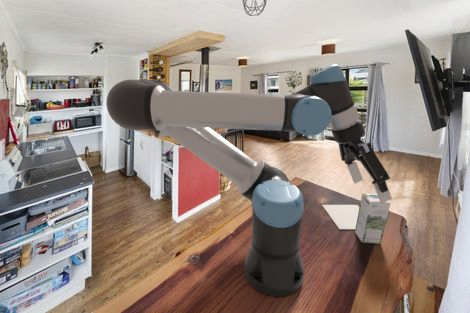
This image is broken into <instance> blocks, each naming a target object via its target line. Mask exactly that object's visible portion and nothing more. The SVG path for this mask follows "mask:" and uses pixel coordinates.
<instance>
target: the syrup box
mask: <svg viewBox="0 0 470 313" xmlns="http://www.w3.org/2000/svg"><path fill="white" fill-rule="evenodd" d="M360 196H361V198H360V202H359V213H358V218H357V224H356V229H355V230H354V233H355V234H356V236H357V237H358V239H359V240H360V242H361V243H362V244H375V245H376V244H377V245H381V244H382V242H383V236H384V232H385V228H386V224H387V219H388V215H389V211H390V207H391V203H390V200H388V201H386V202H384V203H381V202H380V200H379V197H378V195H377V193H361V195H360Z"/></svg>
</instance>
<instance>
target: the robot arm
mask: <svg viewBox="0 0 470 313" xmlns="http://www.w3.org/2000/svg"><path fill="white" fill-rule="evenodd" d="M309 80H310V82H309V83H310V84H309V85H307V86H306V87H303V88H302V89H300V90H298V91H296V92H294V93H291V94H289V95H288V94H287V95H285V94H269V93H267V94H264V93H239V92H238V93H237V92H213V91H212V92H211V91H210V92H209V91H190V90H189V91H186V90H185V91H183V90H173V89H172V88H171V87H170V86H169V85H168V84H166V83H164V82H161V81H159V80H155V79H146V80H145V79H144V80H143V79H142V80H141V79H125V80H122V81H120V82H117V83H116V84H115V85H113V86H112V87H111V88H110V90H109V91H108V94H107V96H106V102H105V104H106V110H107V112H108V115H109V116H110V118H111V119H112V120H113V122H114V123H115V124H117V125H118V126H119V127H122V128H123V129H126V130H129V131H151V132H153V133H155V134H156V135H157V136H158V137H160V138H162V137H170V138H171V139H172V140H174V142H176V143H177V144H180V145H181V146H182V147H184V148H185V149H186V150H188V151H190V152H191V153H192V154H193V155H195V156H196V157H198V158H199V159H200V160H202V161H203V162H205V163H206V164H207V165H209V166H210V167H212V168H213V169H214V170H216V171H217V172H218V173H220V174H221V175H223V176H224V177H226V178H227V179H228V180H229V181H231V182H233V184H235V185H237V188H238V193H239V194H240V195H242V196H244V198H246V199H248V201H250V202H251V210H252V211H251V215H252V217H251V219H252V220H251V222H252V223H251V245H250V247H249V250H248V252H247V255H246V257H245V260H244V276H245V279H246V281H247V282H248V284H249V285H250V286H251V287H252V288H253V289H254V290H256V291H258V292H260V293H261V294H264V295H267V296H270V297H286V296H290V295H292V294H294V293H296V292H298V291H299V289H300V288H301V287H302V285H303V283H304V279H305V278H304V277H305V266H304V263H303V259H302V256H301V252H300V242H301V235H302V234H301V232H302V223H303V214H304V211H305V207H304V206H305V205H304V196H303V194H302V191H301V190H300V189H299V188H298V187H297V186H296V185H294V184H292V183H291V182H290V179H289V177H288V176H287V175H286V173H285V172H283V171H282V169H279V168H278V167H276V166H271V165H270V164H268V163H266V162H265V161H263V160H257V161H256V160H254V159H253V158H251V157H250V156H248V155H247V154H246V153H244V151H242V150H240V149H239V148H238V147H236V146H235V145H234V144H232V143H231V142H229V141H228V140H227V139H225V138H224V137H223V136H222V135H220V134H219V133H217V132H216V131H215V130H213V129H225V130H226V129H229V130H230V129H231V130H253V131H274V132H275V131H279V132H293V133H294V132H296V133H299V134H300V135H303V136H307V137H308V136H309V137H313V136H314V137H315V136H317V135H320V134H321V133H324V132H325V131H326V130H327V128H328V127H329V129H331V134H332V136H333V138H334V141H335V142H336V143H338V148H339V154H340V158H341V161H342V162H344V164H346V167H347V169H348V172H349V175H350V176H351V179H352V182H353V183H354V184H358V183H360V182H362V181H364V179H363V176H362V173H361V171H360V169H359V165H358V163H357V161H358V162H360V164H361V165H362V166H363V167H364V169H365V170H366V171H367V174H368V175H369V176H370V177H371V178H372V181H371V184H372V185H373V186H374V189H375V192H376V194H377V195H378V197H379V200H380V202H381V203H384V202H386V201H390V200H392V199H393V198H392V195H391V192H390V190H389V187H388V183H387V181H389V180H391V176H390V175H389V174H388V172H387V170H386V169H385V168H384V165H383V164H382V163H381V161H380V160H379V157H378V155H376V153H375V151H374V149H373V147H372V145H371V143H370V142H369V141H368V142H366V143H364V141H363V140H362V139H361V138H362V137H363V135H364V134H365V133H366V131H365V128H364V125H363V122H362V120H361V119H360V114H359V113H358V105H356V104H355V102H354V99H353V96H352V93H351V91H350V88H349V85H348V82H347V78H346V76H345V74H344V72H343V70H342V67H341V66H340V65H339V64H336V63H335V64H331V65H328V66H326V67H324V68H322V69H320V70H318V71H316V72H315V73H313V74H311V75H310V76H309Z"/></svg>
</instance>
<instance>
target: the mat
mask: <svg viewBox="0 0 470 313" xmlns="http://www.w3.org/2000/svg"><path fill="white" fill-rule="evenodd" d="M321 206H322V208H323V209H324V210H325V212H326V213H327V214H328V216H329V217H330V219H331V220H332V221H333V222H332V223H334V225H335V226H336V227H337V228H338V230H339V231H355V229H356V224H357V218H358V213H359V207H360V205H358V204H322V205H321Z"/></svg>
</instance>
